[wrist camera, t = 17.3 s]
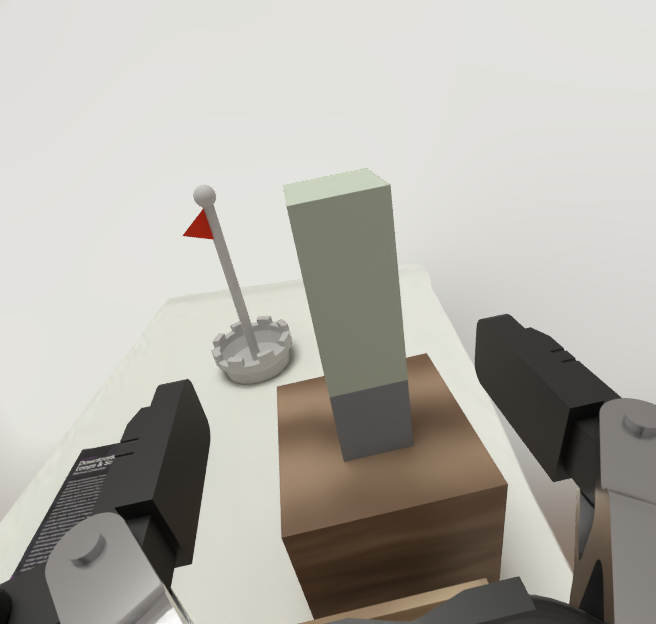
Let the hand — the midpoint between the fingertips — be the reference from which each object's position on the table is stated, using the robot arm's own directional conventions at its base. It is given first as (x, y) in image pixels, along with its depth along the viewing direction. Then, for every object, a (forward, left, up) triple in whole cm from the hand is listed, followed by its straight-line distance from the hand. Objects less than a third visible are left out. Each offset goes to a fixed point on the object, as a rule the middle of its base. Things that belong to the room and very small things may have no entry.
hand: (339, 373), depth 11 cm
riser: (+10, +8, -32) cm, 34 cm away
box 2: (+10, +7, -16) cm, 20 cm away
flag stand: (+25, +42, -32) cm, 58 cm away
